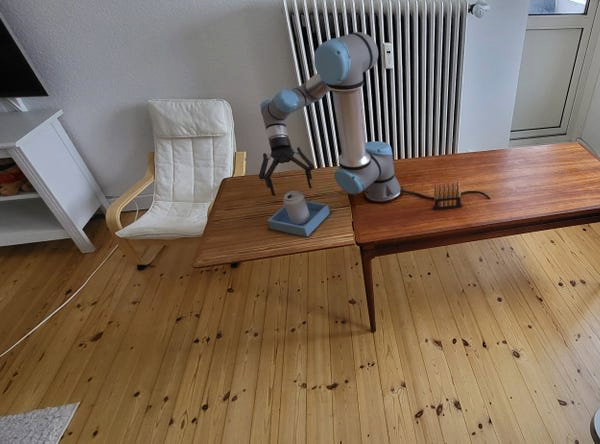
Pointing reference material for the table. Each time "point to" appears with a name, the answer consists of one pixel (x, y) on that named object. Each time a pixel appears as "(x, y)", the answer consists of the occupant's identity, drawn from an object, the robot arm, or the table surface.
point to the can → (296, 207)
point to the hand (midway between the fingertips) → (292, 191)
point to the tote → (284, 224)
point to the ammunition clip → (451, 199)
